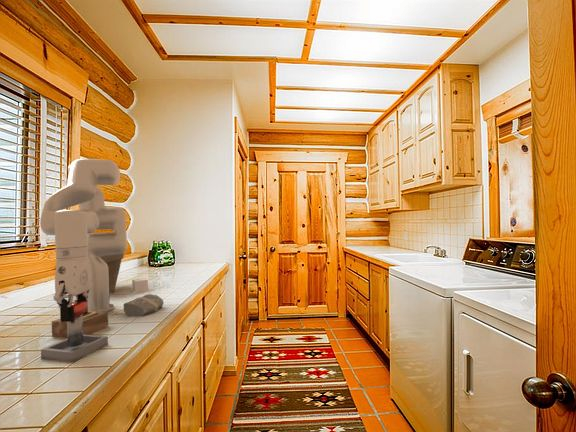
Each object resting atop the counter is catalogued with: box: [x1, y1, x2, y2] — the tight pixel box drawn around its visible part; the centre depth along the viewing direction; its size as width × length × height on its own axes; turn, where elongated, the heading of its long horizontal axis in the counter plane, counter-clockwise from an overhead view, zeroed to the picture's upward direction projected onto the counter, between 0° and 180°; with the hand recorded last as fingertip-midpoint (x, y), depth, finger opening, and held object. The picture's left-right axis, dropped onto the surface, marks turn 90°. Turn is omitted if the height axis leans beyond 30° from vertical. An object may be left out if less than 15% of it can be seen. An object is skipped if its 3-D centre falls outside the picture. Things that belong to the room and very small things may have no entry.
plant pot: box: [100, 253, 125, 294], centre depth 156 cm, size 25×25×22 cm
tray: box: [40, 334, 109, 363], centre depth 87 cm, size 11×11×2 cm
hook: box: [67, 300, 87, 347], centre depth 87 cm, size 6×6×12 cm
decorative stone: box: [122, 293, 164, 318], centre depth 122 cm, size 13×10×6 cm
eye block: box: [51, 311, 109, 339], centre depth 103 cm, size 11×11×6 cm
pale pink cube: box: [131, 277, 149, 294], centre depth 158 cm, size 6×6×6 cm
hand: (74, 316), depth 87 cm, fingers closed on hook, 5 cm apart
